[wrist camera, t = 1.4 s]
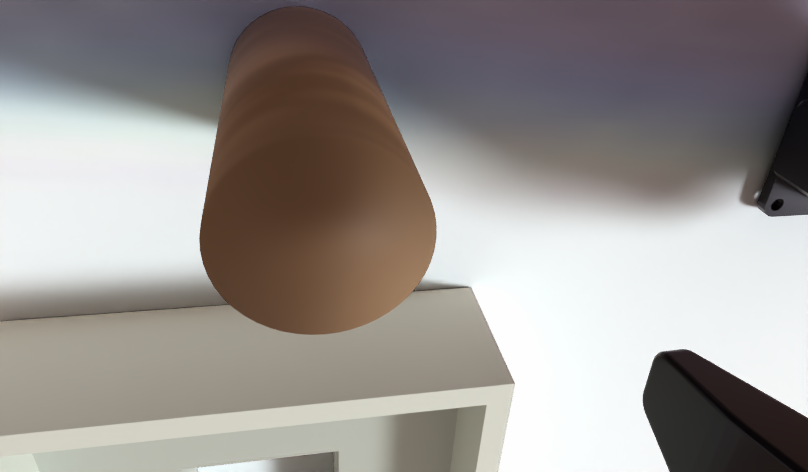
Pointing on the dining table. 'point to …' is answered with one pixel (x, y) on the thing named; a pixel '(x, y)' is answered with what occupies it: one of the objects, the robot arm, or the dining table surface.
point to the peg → (311, 183)
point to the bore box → (254, 391)
